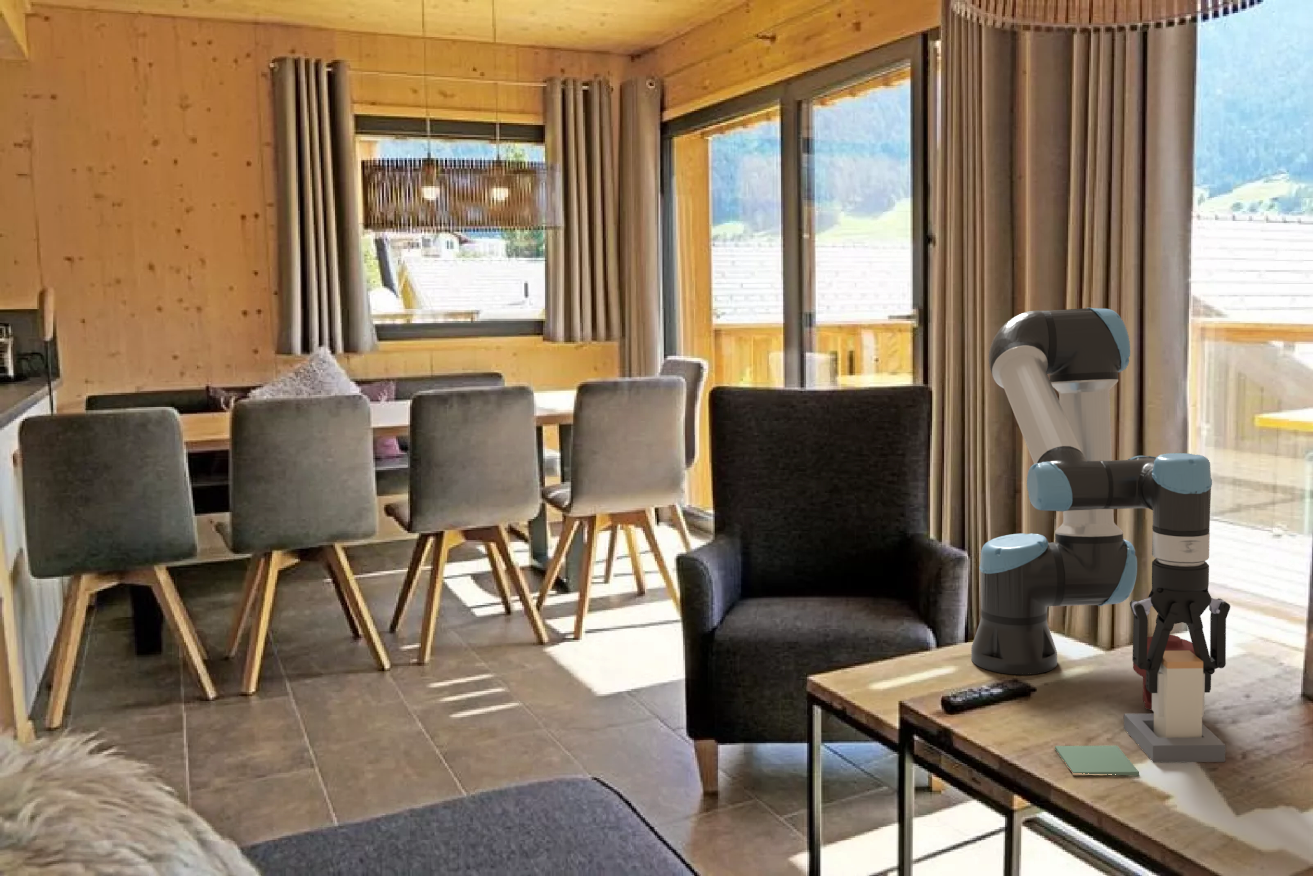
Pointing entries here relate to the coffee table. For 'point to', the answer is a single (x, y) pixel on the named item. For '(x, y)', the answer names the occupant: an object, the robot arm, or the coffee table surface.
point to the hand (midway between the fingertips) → (1177, 712)
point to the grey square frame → (1173, 742)
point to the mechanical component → (1172, 645)
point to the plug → (1181, 696)
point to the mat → (1096, 760)
